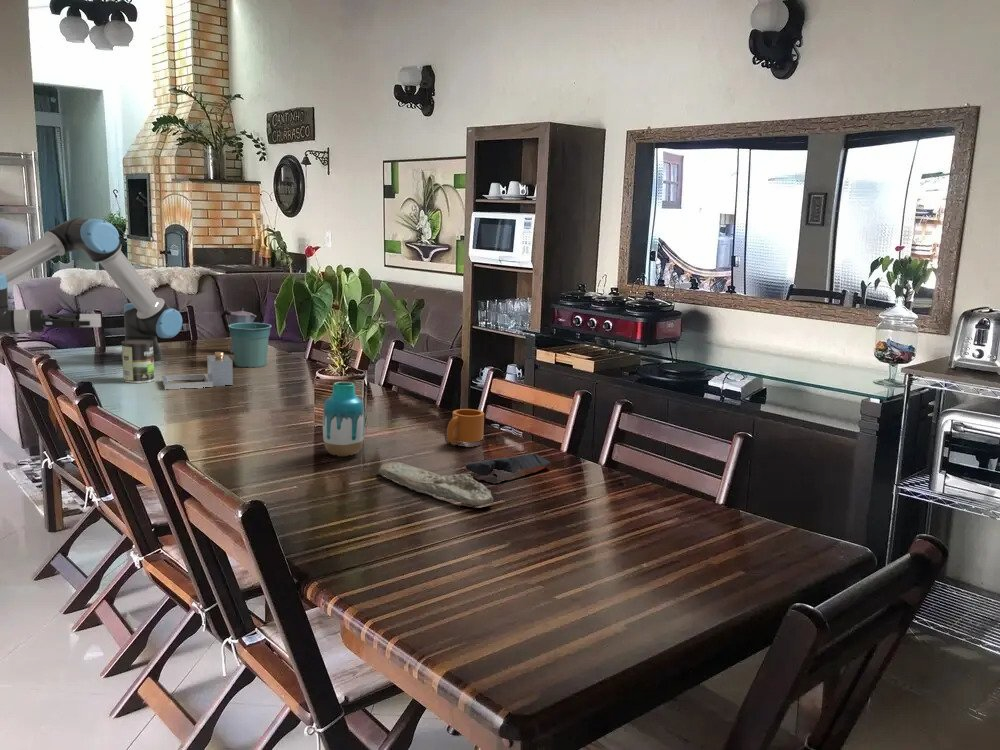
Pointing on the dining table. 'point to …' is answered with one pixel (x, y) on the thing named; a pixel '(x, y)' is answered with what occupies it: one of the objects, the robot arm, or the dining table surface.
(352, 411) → the vase
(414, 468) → the long grey stone
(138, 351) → the coffee can
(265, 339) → the flower pot
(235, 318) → the moka pot
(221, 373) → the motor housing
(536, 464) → the dark slate chunk
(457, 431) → the mug
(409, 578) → the dining table surface
